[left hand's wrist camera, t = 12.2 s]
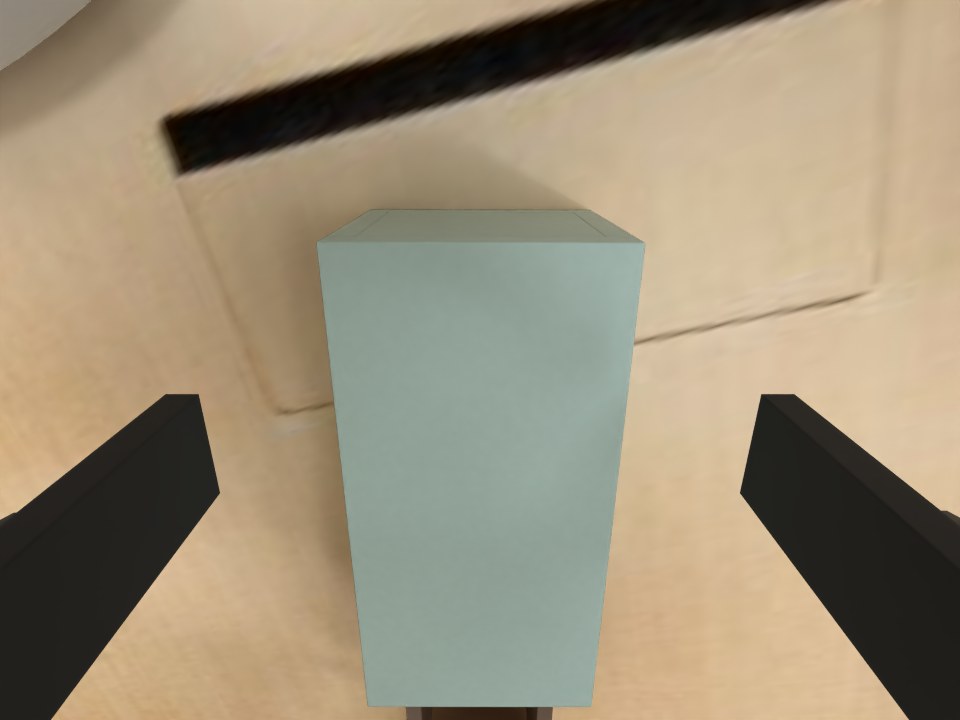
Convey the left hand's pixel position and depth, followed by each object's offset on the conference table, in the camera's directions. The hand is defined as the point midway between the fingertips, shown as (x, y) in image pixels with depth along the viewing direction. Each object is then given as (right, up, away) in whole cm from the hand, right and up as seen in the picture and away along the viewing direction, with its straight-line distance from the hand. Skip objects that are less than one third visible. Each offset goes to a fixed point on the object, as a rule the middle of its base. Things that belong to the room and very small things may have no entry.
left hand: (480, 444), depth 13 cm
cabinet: (0, -1, +17) cm, 17 cm away
